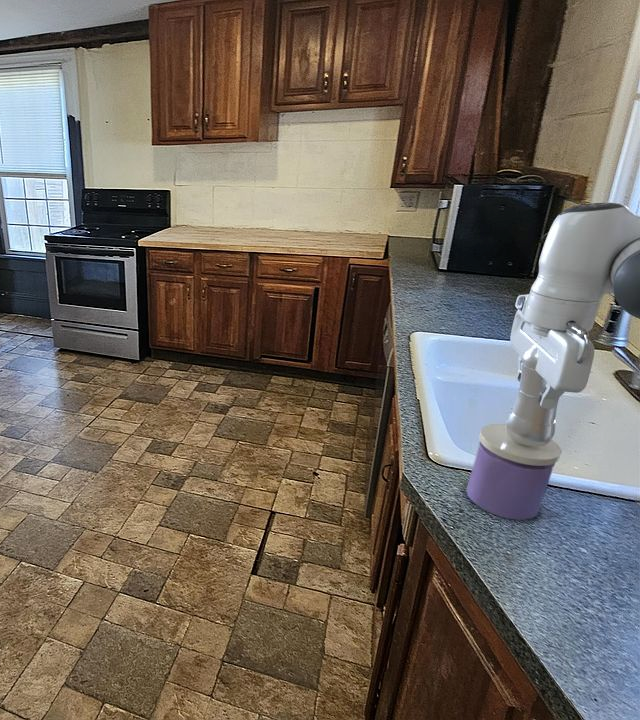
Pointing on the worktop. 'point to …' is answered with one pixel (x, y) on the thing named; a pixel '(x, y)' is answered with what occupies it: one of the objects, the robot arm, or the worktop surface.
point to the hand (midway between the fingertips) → (533, 393)
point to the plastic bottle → (531, 407)
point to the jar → (510, 474)
